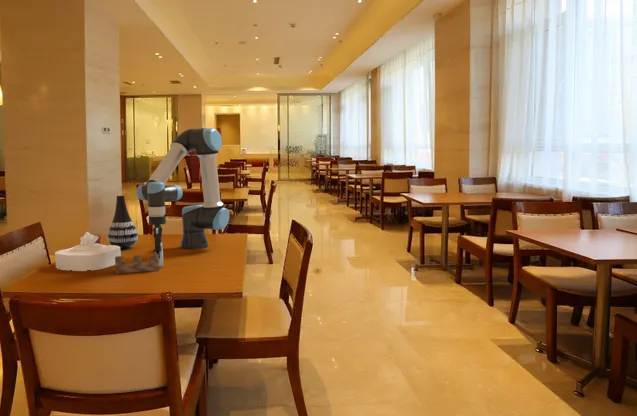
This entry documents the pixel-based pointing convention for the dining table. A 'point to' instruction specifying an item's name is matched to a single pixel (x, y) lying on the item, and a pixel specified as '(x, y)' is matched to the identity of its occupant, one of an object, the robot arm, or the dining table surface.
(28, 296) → the dining table surface
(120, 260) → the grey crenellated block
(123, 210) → the vase
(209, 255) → the dining table surface
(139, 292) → the dining table surface
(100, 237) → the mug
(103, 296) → the dining table surface
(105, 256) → the tissue box
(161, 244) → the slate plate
